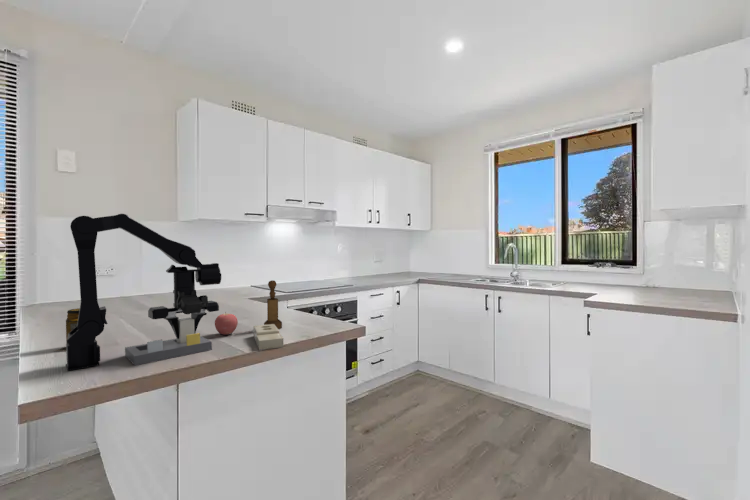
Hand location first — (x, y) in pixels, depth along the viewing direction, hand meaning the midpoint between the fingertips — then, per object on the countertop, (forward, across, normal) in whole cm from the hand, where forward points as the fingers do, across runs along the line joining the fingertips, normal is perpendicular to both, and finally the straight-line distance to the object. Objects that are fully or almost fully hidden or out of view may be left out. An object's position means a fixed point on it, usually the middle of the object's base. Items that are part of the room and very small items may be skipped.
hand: (185, 337), depth 115 cm
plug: (+2, 0, 0) cm, 2 cm away
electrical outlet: (+4, +22, -11) cm, 25 cm away
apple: (+4, +16, +8) cm, 18 cm away
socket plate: (+3, -5, -2) cm, 6 cm away
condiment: (+4, -24, +26) cm, 36 cm away
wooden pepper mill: (+4, +32, +4) cm, 33 cm away
